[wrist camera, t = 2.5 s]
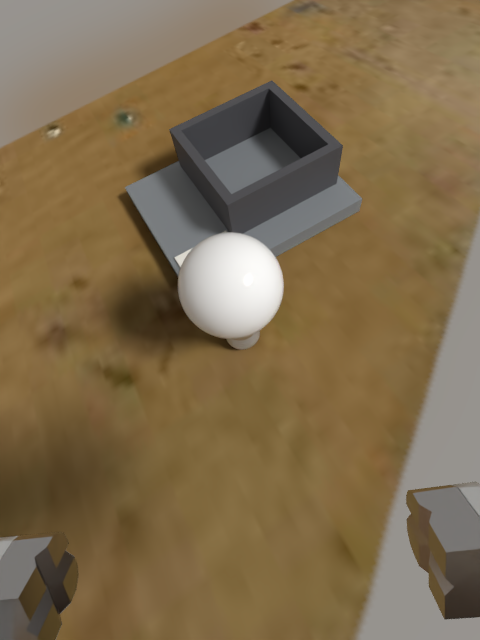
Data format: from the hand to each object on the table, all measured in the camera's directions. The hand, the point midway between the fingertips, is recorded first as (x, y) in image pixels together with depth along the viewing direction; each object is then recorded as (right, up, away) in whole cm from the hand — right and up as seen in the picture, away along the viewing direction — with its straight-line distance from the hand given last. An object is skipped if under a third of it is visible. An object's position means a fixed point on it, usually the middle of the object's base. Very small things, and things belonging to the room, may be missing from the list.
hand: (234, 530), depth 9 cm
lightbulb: (0, +4, +21) cm, 21 cm away
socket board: (0, +16, +27) cm, 31 cm away
